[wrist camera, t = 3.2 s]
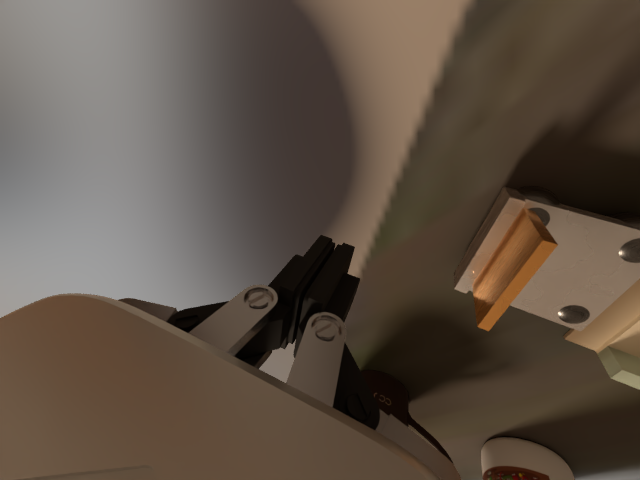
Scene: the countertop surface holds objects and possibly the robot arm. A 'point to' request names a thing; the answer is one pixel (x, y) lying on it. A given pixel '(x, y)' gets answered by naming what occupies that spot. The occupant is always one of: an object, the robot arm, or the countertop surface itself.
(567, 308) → the cart
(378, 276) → the countertop surface
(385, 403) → the coffee mug
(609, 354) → the dock
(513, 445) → the milk bottle
